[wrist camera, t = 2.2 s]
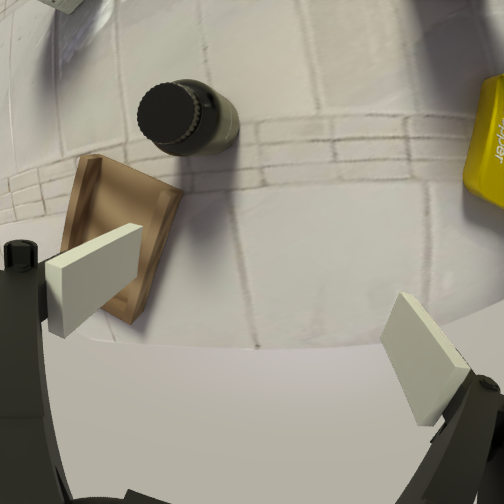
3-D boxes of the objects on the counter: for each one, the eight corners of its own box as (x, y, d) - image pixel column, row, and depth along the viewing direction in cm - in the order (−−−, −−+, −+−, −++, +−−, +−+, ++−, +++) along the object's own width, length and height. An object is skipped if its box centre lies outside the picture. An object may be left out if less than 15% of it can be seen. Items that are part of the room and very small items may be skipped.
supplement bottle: (252, 136, 32) (226, 130, 21) (197, 166, 34) (148, 176, 23) (222, 82, 31) (183, 53, 20) (169, 114, 33) (111, 103, 22)
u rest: (98, 153, 35) (80, 155, 32) (183, 191, 35) (171, 196, 32) (72, 270, 41) (56, 279, 38) (143, 311, 41) (130, 325, 38)
